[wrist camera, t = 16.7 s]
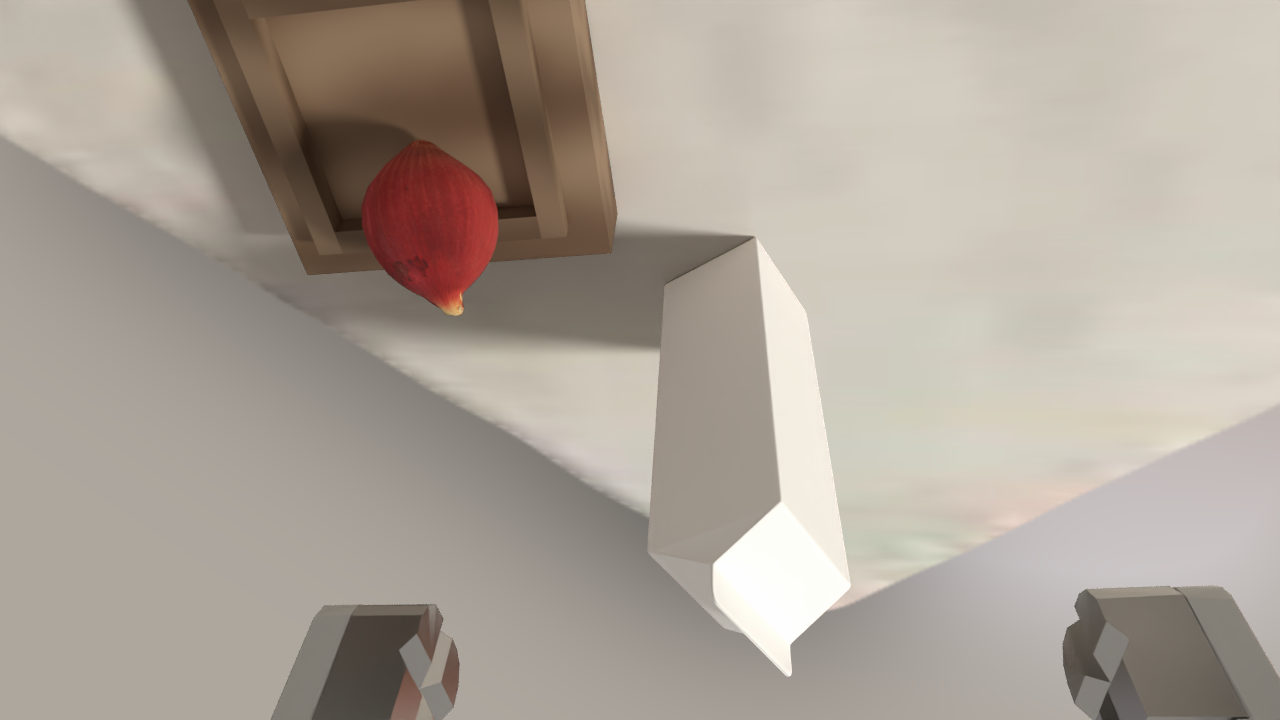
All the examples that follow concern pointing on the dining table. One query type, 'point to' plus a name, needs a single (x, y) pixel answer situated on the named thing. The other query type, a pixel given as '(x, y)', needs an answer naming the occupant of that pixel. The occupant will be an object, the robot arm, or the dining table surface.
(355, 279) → the dining table surface
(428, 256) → the onion
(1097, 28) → the dining table surface
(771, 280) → the milk
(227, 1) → the walnut pedestal
